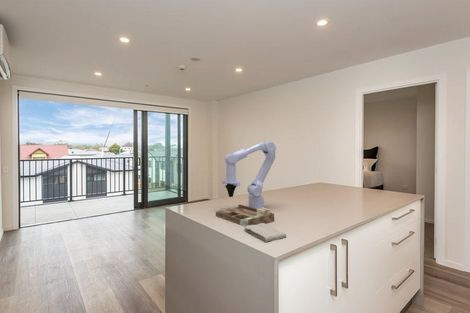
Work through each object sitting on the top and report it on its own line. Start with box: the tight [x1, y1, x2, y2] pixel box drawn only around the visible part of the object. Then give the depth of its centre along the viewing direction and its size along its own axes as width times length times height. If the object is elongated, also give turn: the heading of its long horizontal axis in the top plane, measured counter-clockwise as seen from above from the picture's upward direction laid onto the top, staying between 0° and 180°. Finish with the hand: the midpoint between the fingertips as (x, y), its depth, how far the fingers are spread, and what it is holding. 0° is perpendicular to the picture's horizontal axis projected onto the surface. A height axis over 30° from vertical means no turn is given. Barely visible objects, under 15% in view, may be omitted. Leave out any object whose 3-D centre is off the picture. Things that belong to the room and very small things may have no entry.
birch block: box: [257, 207, 271, 217], centre depth 131 cm, size 5×5×4 cm
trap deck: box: [215, 204, 275, 227], centre depth 136 cm, size 18×28×4 cm, turn 40°
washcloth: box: [243, 223, 287, 243], centre depth 112 cm, size 12×18×3 cm, turn 30°
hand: (230, 196), depth 149 cm, fingers closed
